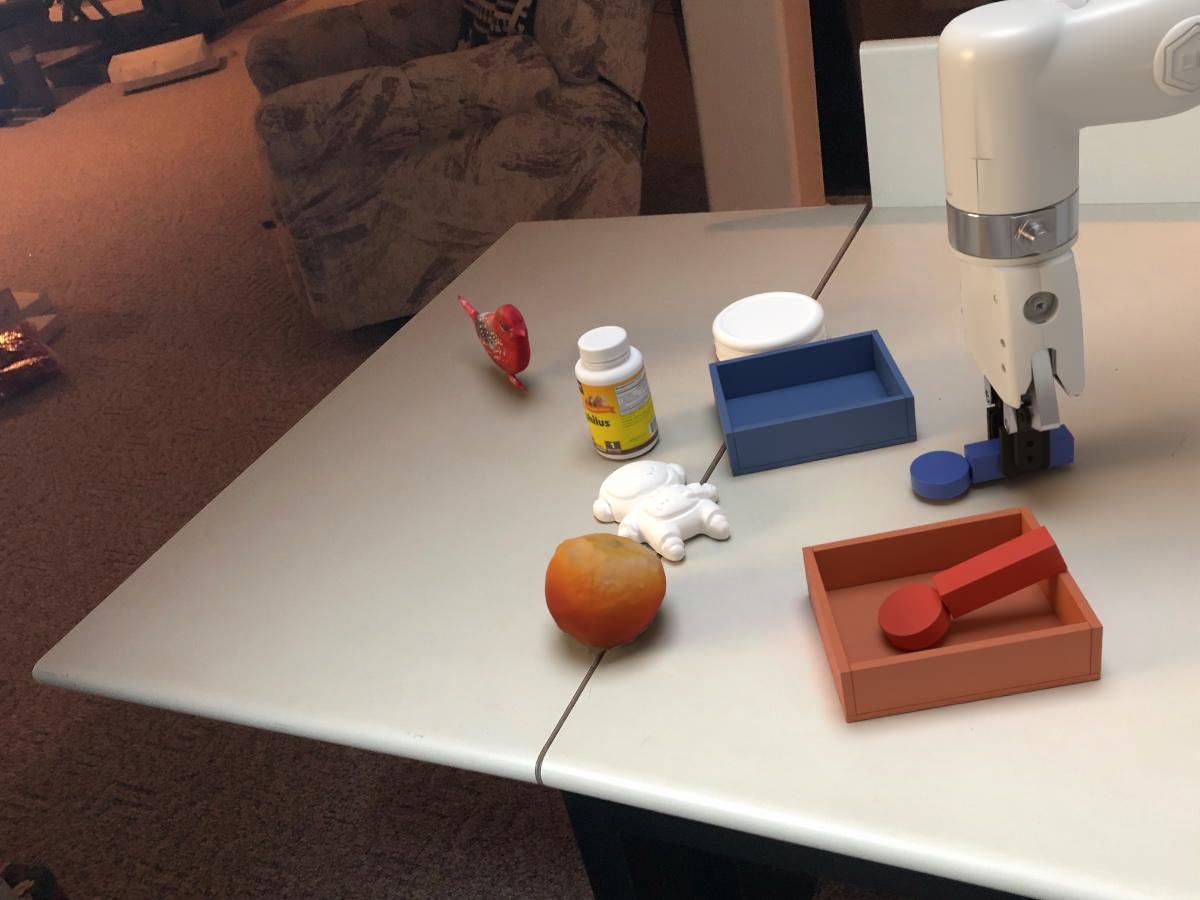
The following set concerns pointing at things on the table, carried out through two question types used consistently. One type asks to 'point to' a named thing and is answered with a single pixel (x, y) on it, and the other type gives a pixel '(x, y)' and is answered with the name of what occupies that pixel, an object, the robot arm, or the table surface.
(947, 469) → the blue spoon
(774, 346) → the white round container
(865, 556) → the terracotta tray
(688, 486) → the astronaut figurine
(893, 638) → the red spoon
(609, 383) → the supplement bottle
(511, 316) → the decorative bird figurine
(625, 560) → the fruit
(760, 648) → the table surface
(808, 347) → the blue tray
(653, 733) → the table surface
